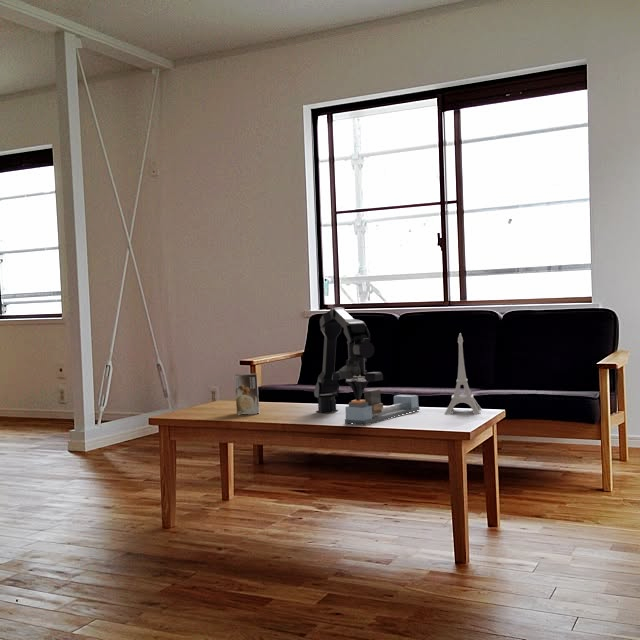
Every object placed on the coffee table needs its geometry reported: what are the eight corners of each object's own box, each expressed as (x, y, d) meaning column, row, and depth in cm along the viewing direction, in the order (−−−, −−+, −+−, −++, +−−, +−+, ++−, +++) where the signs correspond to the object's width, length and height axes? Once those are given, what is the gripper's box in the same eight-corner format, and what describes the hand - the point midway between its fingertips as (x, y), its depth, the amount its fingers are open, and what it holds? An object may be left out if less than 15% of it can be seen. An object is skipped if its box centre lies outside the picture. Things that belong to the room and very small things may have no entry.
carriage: (362, 414, 288) (361, 390, 288) (372, 411, 292) (371, 389, 292) (374, 414, 285) (373, 391, 284) (383, 412, 289) (382, 389, 289)
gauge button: (351, 406, 281) (351, 400, 281) (357, 404, 284) (357, 399, 284) (359, 406, 279) (359, 401, 279) (365, 405, 282) (365, 399, 282)
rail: (344, 423, 282) (344, 402, 282) (399, 409, 311) (399, 390, 311) (365, 424, 277) (364, 403, 277) (419, 410, 306) (418, 391, 306)
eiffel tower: (446, 409, 307) (443, 333, 307) (481, 409, 304) (478, 331, 304) (444, 414, 294) (440, 334, 294) (480, 414, 291) (477, 333, 291)
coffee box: (259, 412, 322) (258, 372, 322) (259, 414, 316) (257, 374, 315) (237, 413, 322) (235, 373, 322) (236, 415, 315) (234, 375, 315)
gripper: (322, 358, 280) (323, 402, 281) (365, 358, 269) (367, 404, 269) (340, 355, 289) (342, 398, 290) (383, 356, 278) (384, 400, 278)
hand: (358, 400), depth 281 cm, fingers closed, pressing on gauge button
